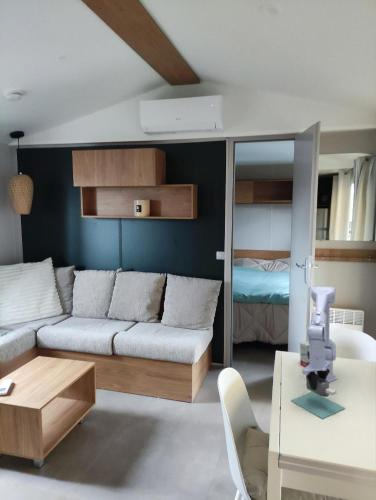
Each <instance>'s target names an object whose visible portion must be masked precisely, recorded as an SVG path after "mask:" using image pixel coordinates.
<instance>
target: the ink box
mask: <svg viewBox="0 0 376 500" xmlns="http://www.w3.org/2000/svg"><path fill="white" fill-rule="evenodd" d="M299 344H300V345H299V348H300V350H299V351H300V352H299V353H300V354H299V355H300V356H299V361H300V366H302V367H303V368H305V367H307V366H308V365H309V364H310V360H309V343H308V340H306V341H305V340H304V341H301V342H300V343H299Z"/></svg>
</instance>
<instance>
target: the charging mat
mask: <svg viewBox="0 0 376 500" xmlns="http://www.w3.org/2000/svg"><path fill="white" fill-rule="evenodd" d="M290 401H291V402H292V403H293V404H296V405H297V406H298V407H300V408H302V409H303V410H305V411H307V412H308V413H311V414H312V415H314V416H316V417H318V418H319V419H321V420H324V419H326V418H329V417H331V416H334V415H335V414H337V413H339V412H342V411H345V410H346V407H345V406H342V405H341V404H338V403H336V402H335V401H333V400H330V399H329V398H326V397H323V396H320V395H318V394H316V393H314V392H312V391H310V392H308V393H305V394H303V395H301V396H298V397H296V398H292V399H291V400H290Z"/></svg>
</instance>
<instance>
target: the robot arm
mask: <svg viewBox="0 0 376 500" xmlns="http://www.w3.org/2000/svg"><path fill="white" fill-rule="evenodd" d="M336 295H337V294H336V288H335V286H318V285H317V286H316V285H312V286H311V290H310V297H311V299H312V301H313V302H314V303H315V310H314V311H313V312H312V314H311V318H310V324H309V325H308V326H307V341H308V343H309V360H310V364H309V365H308V366H307V367H303V368H302V373H301V374H302V375H304V376H307V378H308V380H309V383H310V387H311V389H313V390H316V386H317V379H318V377H320V378H322V379H325V380H327V381H328V382H329V383H330V382H332V381H335V380H338V377H336V376H334V374H333V373H334V372H333V371H334V368H333V366H334V362H335V360H336V358H337V346H336V342H334V341H333V340H332V339H331V338H330V309H331V305H332V304H333V305H334V304H335V303H336Z"/></svg>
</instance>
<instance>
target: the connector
mask: <svg viewBox="0 0 376 500" xmlns="http://www.w3.org/2000/svg"><path fill="white" fill-rule="evenodd" d="M305 376H306V375H305ZM305 381H306V384H305V385H306V389H307V390H309V391H310V392H314V393H316V394H318V395H320V396H323V397H325V398H326V397H328V396H329V395H330V396H335V395H336V394H337V390H335V389H333V388H331V387H330V382H328V381H327V380H325V379H322V378H320V377H318V379H317V386H316V390H313V389H311V387H310V383H309V380H308V378H307V376H306V380H305Z"/></svg>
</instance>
